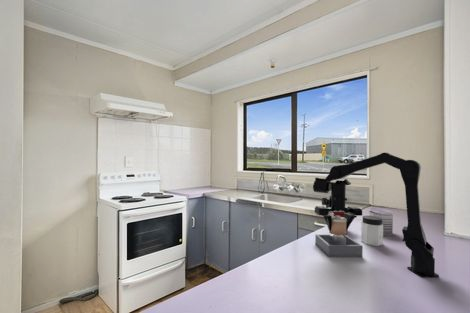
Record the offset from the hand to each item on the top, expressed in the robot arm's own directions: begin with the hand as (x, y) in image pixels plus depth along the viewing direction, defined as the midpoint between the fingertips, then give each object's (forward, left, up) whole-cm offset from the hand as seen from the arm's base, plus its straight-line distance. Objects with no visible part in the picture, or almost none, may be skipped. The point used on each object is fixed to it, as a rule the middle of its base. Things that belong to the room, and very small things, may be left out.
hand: (337, 230), depth 103 cm
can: (+25, -36, -9) cm, 45 cm away
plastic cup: (+28, -16, -9) cm, 33 cm away
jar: (+9, -21, -9) cm, 24 cm away
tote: (0, 0, -8) cm, 9 cm away
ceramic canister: (0, 0, -1) cm, 1 cm away
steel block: (0, 0, -8) cm, 8 cm away
